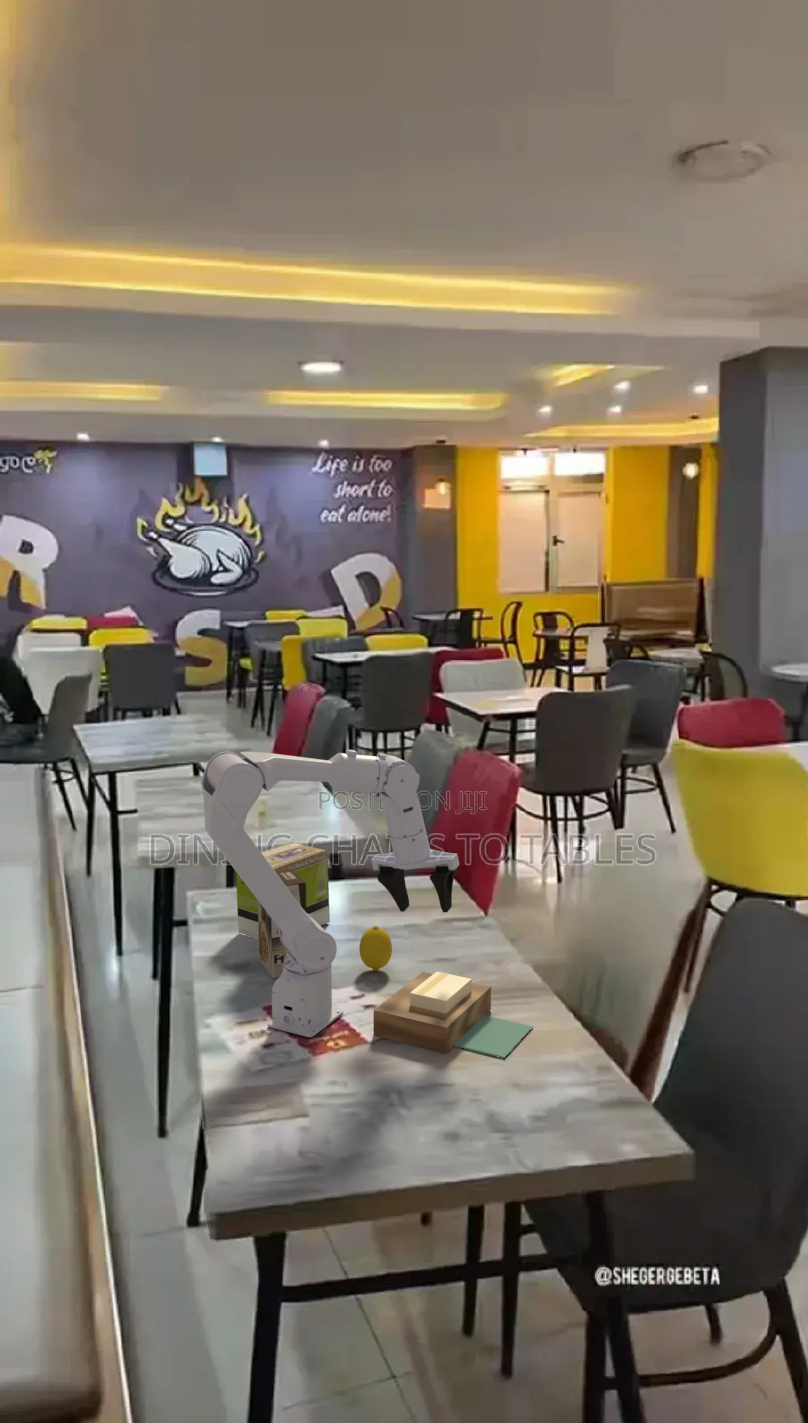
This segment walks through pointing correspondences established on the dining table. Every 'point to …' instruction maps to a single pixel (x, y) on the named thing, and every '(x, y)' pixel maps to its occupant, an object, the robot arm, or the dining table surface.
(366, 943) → the lemon
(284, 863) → the tea box
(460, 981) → the cream rectangular block
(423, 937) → the dining table surface
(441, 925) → the dining table surface
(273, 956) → the coffee box
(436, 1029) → the brown wooden flat block
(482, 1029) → the mat
